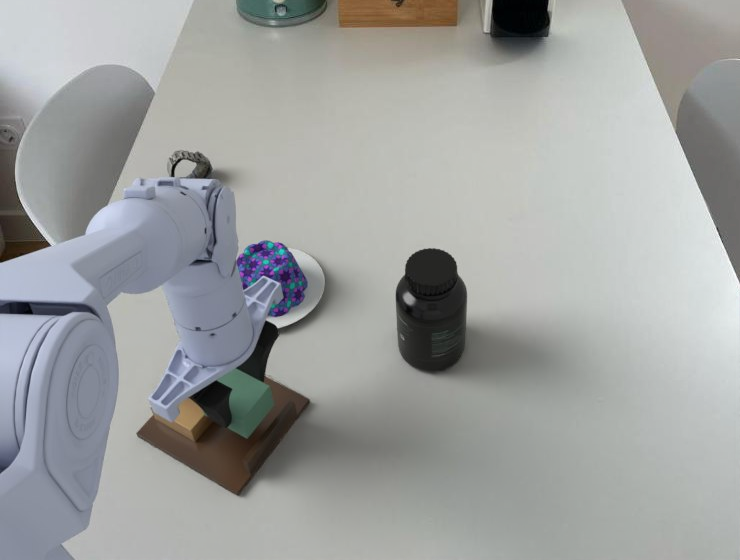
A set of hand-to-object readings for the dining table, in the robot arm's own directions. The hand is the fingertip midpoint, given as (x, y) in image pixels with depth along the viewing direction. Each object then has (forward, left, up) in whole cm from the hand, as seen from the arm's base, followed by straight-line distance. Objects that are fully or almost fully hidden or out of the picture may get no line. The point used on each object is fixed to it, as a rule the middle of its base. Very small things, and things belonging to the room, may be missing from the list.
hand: (237, 400), depth 73 cm
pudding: (+15, +8, -5) cm, 18 cm away
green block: (0, 0, -1) cm, 1 cm away
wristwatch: (+25, +28, -5) cm, 38 cm away
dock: (0, +2, -5) cm, 6 cm away
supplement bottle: (+17, -11, -5) cm, 21 cm away
